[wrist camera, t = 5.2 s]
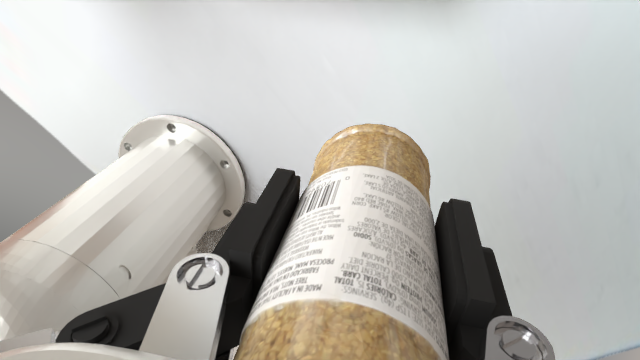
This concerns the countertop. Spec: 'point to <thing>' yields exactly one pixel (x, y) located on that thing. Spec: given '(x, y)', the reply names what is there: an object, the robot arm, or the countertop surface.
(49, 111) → the countertop surface
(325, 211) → the sprinkles bottle
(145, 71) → the countertop surface
